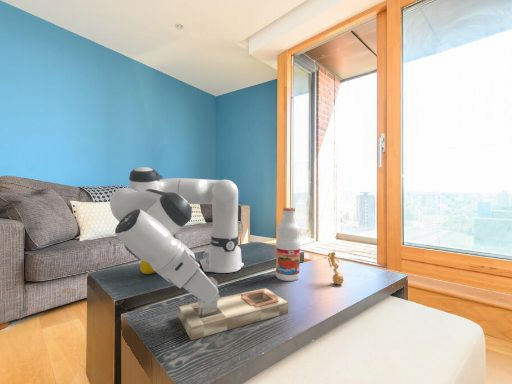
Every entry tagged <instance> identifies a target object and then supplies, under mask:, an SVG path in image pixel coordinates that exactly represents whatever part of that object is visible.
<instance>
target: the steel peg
mask: <svg viewBox="0 0 512 384" xmlns="http://www.w3.org/2000/svg"><path fill="white" fill-rule="evenodd" d="M208 278H209V279H210V281H211V282H212V283H213V284H214V285H215V286H216V288H217V289H218V288H219V287H218V286H219V285H218V284H219V282H218V281H217V279H215V278H214V277H213V276H210V277H208ZM218 290H219V289H218ZM197 302H198V312H197V315H198V316H199V318H204V317H208V316H212V315H217V302H215V301H212V302H211V303H210V304H208V303H206V302H204V301H202V300H200V299H199V298H197Z"/></svg>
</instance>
